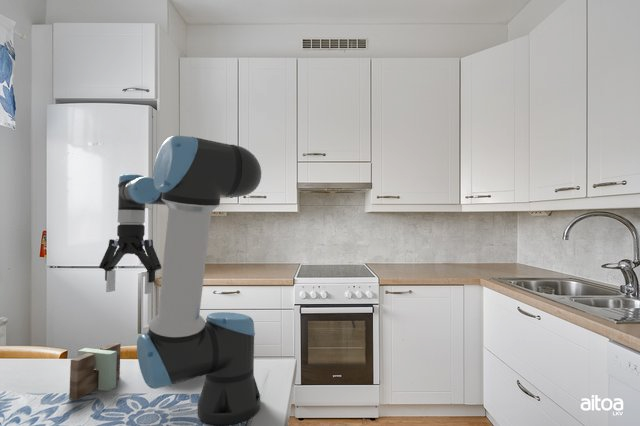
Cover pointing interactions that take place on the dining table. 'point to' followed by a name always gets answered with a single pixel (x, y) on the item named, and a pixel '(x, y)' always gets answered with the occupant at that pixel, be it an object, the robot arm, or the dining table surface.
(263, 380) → the dining table surface
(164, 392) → the dining table surface
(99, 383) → the notched mint block
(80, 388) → the wooden u-shaped stand
